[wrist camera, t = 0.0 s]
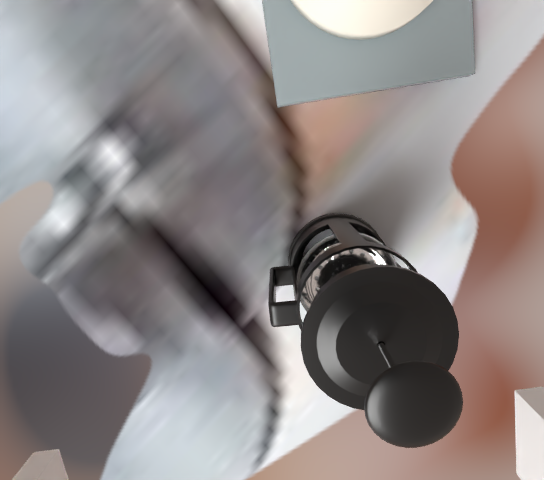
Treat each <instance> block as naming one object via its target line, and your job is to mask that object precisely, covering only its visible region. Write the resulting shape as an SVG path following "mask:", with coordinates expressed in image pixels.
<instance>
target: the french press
mask: <svg viewBox="0 0 544 480" xmlns="http://www.w3.org/2000/svg"><path fill="white" fill-rule="evenodd" d="M327 229H331V230H332V232H333V233H334V235H331V236H329V237H326V238H324V239H322V240H321V241H319V242H318V243H316V244H315V245H314V246H313V247H312V248H311V249H310V250H309V251H308V252H307V254H306V255H305V256H304V258H303V259H302V256H303V252H304V250H305V247H306V246H307V244H308V243H309V241H310V240H311V239H312V238H313V237H314V236H316V235H317V234H319V233H320V232H322V231H325V230H327ZM392 254H393V255H395V256H396V257H398V258H399V259H401V260H402V261H403V262H404V263H405V264H406V265H407V266H408V268H409V269H410V270H409V269H406V268H402V267H401V266H400V265H399V264H397V263H396V262H395V259H394V257H393V256H392ZM284 285H293V288H294V296H295V301H285V302H276V287H277V286H284ZM300 301H301V303H302V305H303V307H304V308H305V310H306V311H307V314H306V316H305V318H304V322H302V320H301V317H300ZM269 313H270V321H271V325H272V326H273V327H280V326H290V325H299V327H300V329H301V351H302V355H303V360H304V364H305V366H306V368H307V370H308V373H309V375H310V377H311V378H312V379H313V381H314V382H315V383H316V385H317V386H318V387H319V388H320V389H321V390H322V391H323V392H324V393H326V394H327V395H328V396H329V397H331V398H332V399H334V400H336V401H338V402H339V403H341V404H344V405H347V406H349V407H352V408H356V409H361V410H365V416H366V419H367V422H368V424H369V426H370V427H371V428H372V430H373V431H374V433H376V434H377V435H378V436H379V437H380V438H381V439H383V440H384V441H386V442H388V443H390V444H393V445H396V446H399V447H405V448H416V447H422V446H426V445H429V444H432V443H434V442H436V441H438V440H440V439H442V438H443V437H444V436H446V435H447V434H448V433H449V432H450V431H451V430H452V429H453V428H454V426H455V425H456V423H457V421H458V420H459V418H460V415H461V412H462V405H463V398H462V392H461V389H460V386H459V384H458V382H457V381H456V379H455V378H454V376H453V375H452V374H451V373H449V372H448V370H449V369H450V367H451V365H452V363H453V361H454V358H455V355H456V352H457V347H458V338H459V331H458V322H457V318H456V315H455V312H454V309H453V307H452V305H451V303H450V302H449V300H448V299H447V297H446V295H445V294H444V293H443V292H442V291H441V290H440V289H439V288H438V287H437V286H436V285H435V284H434V283H433V282H431V281H430V280H428V279H427V278H425V277H424V276H422V275H421V274H419V273H418V272H417V271H416V269H415V268H414V267H413V266H412V265H411V264H410V263H409V262H408V261H407V260H406V259H405V258H404V257H403V256H401V255H400V254H399V253H397V252H396V251H394V250H393V249H391V248H389V247H387V246H385V244H384V242H383V241H382V239H381V238H380V237H379V236H378V234H377V232H376V231H375V230H374V229H373V228H372V227H371V226H370V225H369V224H367V223H366V222H364V221H363V220H361V219H359V218H357V217H355V216H352V215H347V214H329V215H324V216H321V217H319V218H316V219H314V220H313V221H311V222H310V223H308V224H307V225H305V226H304V227H303V228H302V229H301V230H300V231H299V233H298V234H297V235H296V237H295V238H294V240H293V243H292V245H291V247H290V251H289V256H288V266H281V267H272V268H271V269H270V282H269Z"/></svg>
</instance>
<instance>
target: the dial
mask: <svg viewBox="0 0 544 480" xmlns="http://www.w3.org/2000/svg"><path fill="white" fill-rule="evenodd" d="M432 1H433V0H291V2H292V4H293V5H294V6H295V8H296V9H297V10H298V11H299V12H300V14H301V15H302V16H303V17H304V18H306V19H307V20H308V21H309V22H310V23H311V24H313V25H314V26H316V27H317V28H319V29H320V30H322V31H324V32H326V33H328V34H331V35H334V36H337V37H340V38H346V39H355V40H364V39H373V38H377V37H381V36H384V35H387V34H389V33H392V32H394V31H396V30H398V29H400V28H402V27H403V26H405V25H406V24H408V23H409V22H410V21H412V20H413V19H414V18H415V17H416V16H418V15H419V14H420V13H421V12H422V11H423V10H424V9H425V8H426V7H427V6H428V5H429V4H430V3H431V2H432Z"/></svg>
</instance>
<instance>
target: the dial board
mask: <svg viewBox="0 0 544 480" xmlns="http://www.w3.org/2000/svg"><path fill="white" fill-rule="evenodd" d="M262 4H263V11H264V17H265V24H266V31H267V38H268V45H269V52H270V59H271V66H272V73H273V79H274V86H275V93H276V100H277V107H283V106H289V105H296V104H302V103H308V102H314V101H320V100H326V99H332V98H338V97H344V96H351V95H357V94H363V93H369V92H375V91H381V90H387V89H393V88H399V87H406V86H412V85H418V84H424V83H430V82H436V81H442V80H448V79H454V78H461V77H467V76H470V75H473V74H475V62H474V37H473V12H472V0H433V1H432V2H431V3H430V4H429V5H428V6H427V7H426V8H425V9H424V10H423V11H422V12H421V13H420V14H419V15H418V16H416V17H415V18H414V19H413V20H412V21H410V22H409V23H408V24H406V25H405V26H403V27H402V28H400V29H398V30H396V31H394V32H392V33H389V34H387V35H384V36H381V37H377V38H373V39H364V40H355V39H346V38H340V37H337V36H334V35H331V34H328V33H326V32H324V31H322V30H320V29H319V28H317V27H316V26H314V25H313V24H311V23H310V22H309V21H308V20H307V19H306V18H304V17H303V16H302V15H301V14H300V12H299V11H298V10H297V9H296V8H295V6H294V5H293V4H292V2H291V0H262Z"/></svg>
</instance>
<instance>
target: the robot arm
mask: <svg viewBox="0 0 544 480" xmlns="http://www.w3.org/2000/svg"><path fill="white" fill-rule="evenodd" d="M515 427H516V469H517V471H516V472H517V474H518V476H519V477H520V478H521V480H544V388H543V387H536V388H528V389H521V390H515ZM12 480H69V479H68V476H67V473H66V470H65V467H64V464H63V460H62V457H61V454H60V451H59V449H55V450H48V451H40V452H34V453H33V454H32V455H31V456H30V458H29V459H28V460H27V461H26V463H25V464H24V465H23V466H22V468H21V469H20V470H19V472H18V473H17V474H16V475H15V476H14V478H13V479H12Z"/></svg>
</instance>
